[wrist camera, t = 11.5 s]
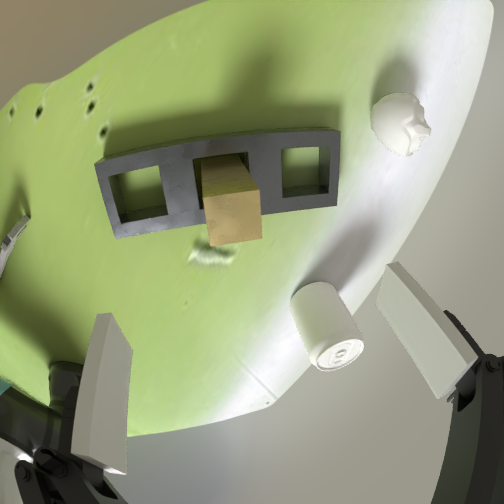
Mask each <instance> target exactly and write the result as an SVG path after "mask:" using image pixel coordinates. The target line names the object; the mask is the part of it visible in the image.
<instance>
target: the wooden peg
mask: <svg viewBox="0 0 504 504" xmlns="http://www.w3.org/2000/svg"><path fill="white" fill-rule="evenodd" d="M201 175H202V194H203V203H204V209H205V216H206V222H207V228H208V234H209V240H210V246H217V245H223V244H230V243H236V242H243V241H249V240H256V239H262V224H261V206H260V190H259V188H258V187H257V185H256V183H255V182H254V180H253V179H252V177H251V175H250V174H249V172H248V171H247V169H246V167H245V166H244V164H243V163H242V161H241V160H240V158H239V157H238V155H237V154H233V155H225V156H217V157H210V158H203V159H201Z"/></svg>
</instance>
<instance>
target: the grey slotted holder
mask: <svg viewBox="0 0 504 504" xmlns="http://www.w3.org/2000/svg"><path fill="white" fill-rule="evenodd" d="M300 147H319V185H310V186H300V187H290V188H282V164H281V149H284V148H300ZM240 152H244V160H245V167H246V169H247V171H248V172H249V174H250V175H251V177H252V179H253V180H254V182H255V183H256V185H257V187H258V188H259V190H260V206H261V215H266V214H273V213H281V212H289V211H296V210H304V209H313V208H321V207H330V206H337V197H338V182H339V162H340V131H338V130H335V129H332V128H329V127H312V128H283V129H266V130H253V131H243V132H233V133H224V134H216V135H209V136H202V137H195V138H189V139H183V140H177V141H172V142H166V143H161V144H156V145H151V146H147V147H142V148H138V149H133V150H129V151H125V152H121V153H117V154H113V155H109V156H106V157H103V158H101V159H100V160H99V161H97V162H96V163H95V164H94V165H95V169H96V174H97V178H98V182H99V185H100V189H101V193H102V196H103V200H104V203H105V207H106V210H107V214H108V217H109V220H110V223H111V226H112V229H113V232H114V235H115V238H116V239H119V238H124V237H129V236H135V235H140V234H146V233H151V232H157V231H163V230H168V229H174V228H180V227H186V226H192V225H198V224H205V223H207V222H206V216H205V209H204V203H203V199H199V194H198V187H197V180H196V174H195V167H194V160H193V159H196V158H202V157H209V156H216V155H224V154H231V153H240ZM156 165H159V170H160V176H161V181H162V186H163V191H164V196H165V200H166V205H164V206H158V207H153V208H148V209H143V210H138V211H133V212H128V213H127V212H126V209H125V205H124V201H123V197H122V194H121V190H120V186H119V182H118V177H117V174H120V173H124V172H128V171H133V170H137V169H142V168H147V167H151V166H156Z"/></svg>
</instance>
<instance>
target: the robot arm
mask: <svg viewBox="0 0 504 504" xmlns="http://www.w3.org/2000/svg"><path fill="white" fill-rule="evenodd" d="M375 305H376V306H377V307H378V309H379V310H380V312H381V313H382V314H383V316H384V317H385V319H386V320H387V322H388V323H389V324H390V326H391V327H392V329H393V330H394V332H395V333H396V334H397V336H398V338H399V339H400V341H401V342H402V344H403V345H404V347H405V348H406V350H407V351H408V353H409V354H410V356H411V357H412V359H413V361H414V362H415V364H416V365H417V367H418V368H419V370H420V372H421V373H422V375H423V376H424V378H425V380H426V381H427V383H428V385H429V386H430V388H431V390H432V391H433V393H434V395H435V396H436V398H437V399H439V398H441V397H442V396H444V395H445V394H447V393H448V392H449V391H450V390H451V389H452V388H453V387H454V386H456V388H457V389H456V390H455V391H454V392H453V393H452V394H451V395H450V396H449V398H448V399H447V402H449V401H450V400H451V399H452V398H453V397H454V399H453V400H452V402H451V403H453V411H452V419H451V425H450V431H449V437H448V443H447V447H446V452H445V456H444V461H443V465H442V469H441V472H440V476H439V480H438V483H437V486H436V490H435V493H434V496H433V499H432V502H431V504H504V356H502V357H496V356H495V355H493V354H487V355H486V354H484V352H483V351H482V350H481V348H479V346H478V344H477V343H476V342H475V341H474V339H473V338H472V337H471V335H470V334H469V333H468V332H467V331H466V329H465V328H464V327H463V325H461V323H460V322H459V320H458V319H457V318H456V317H455V316H454V315H453V314H451V313H450V312H449V311H447V310H445V311H442V310H441V309H440V307H439V306H438V305H437V304H436V303H435V302H434V300H433V299H432V298H431V297H430V296H429V295H428V294H427V292H426V291H425V290H424V289H423V288H422V287H421V286H420V285H419V284H418V282H417V281H416V280H415V279H414V278H413V277H412V276H411V275H410V274H409V273H408V272H407V271H406V269H404V267H403V266H402V265H401V264H400V263H399V262H394V263H390V264H386V268H385V272H384V277H383V280H382V283H381V287H380V290H379V294H378V297H377V301H376V304H375ZM132 354H133V350H132V348H131V346H130V345H129V343H128V341H127V340H126V338H125V336H124V334H123V333H122V331H121V329H120V327H119V326H118V324H117V322H116V320H115V318H114V316H113V314H112V313H105V314H97V317H96V321H95V324H94V328H93V332H92V335H91V339H90V343H89V347H88V351H87V355H86V359H85V364H84V366H81V365H78V364H74V363H70V362H56V363H54V364H53V365H52V366H51V368H50V371H49V390H50V404H49V407H48V406H46V405H45V404H43V403H41V402H40V401H38V400H36V399H35V398H33V397H31V396H30V395H28V394H27V393H25V392H23V391H22V390H20V389H19V388H17V387H16V386H14V385H13V383H10V382H8V381H6V380H5V379H3V378H2V377H0V504H128V503H127V502H126V501H125V500H124V499H123V498H122V496H121V495H120V494H119V493H118V492H117V491H116V489H115V488H114V487H113V485H112V484H111V483H110V482H109V480H108V479H107V478H106V477H105V476H104V475H103V470H105V471H107V472H110V473H116V474H127V458H126V457H127V452H126V451H127V450H126V449H127V448H126V446H127V440H126V438H127V412H128V396H129V383H130V372H131V363H132ZM33 455H34V456H33ZM31 462H33V464H31Z"/></svg>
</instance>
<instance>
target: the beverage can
mask: <svg viewBox="0 0 504 504" xmlns="http://www.w3.org/2000/svg"><path fill="white" fill-rule="evenodd" d="M289 308H290V312H291V315H292V317H293V320H294V322H295V324H296V327H297V329H298V332H299V334H300V337H301V339H302V342H303V344H304V347H305V349H306V352H307V354H308V357H309V359H310V361H311V363H312V364H314V365H315V366H316V367H317V368H318V369H319V370H322V371H332V370H336V369H339V368H342V367H344V366H346V365H348V364H349V363H351V362H352V361H354V360H355V359H356V358H357V357H358V356H359V355H360V353H361V352H362V350H363V348H364V343H363V334H362V332H361V331H360V329H359V327H358V325H357V324H356V322H355V320H354V319H353V317H352V315H351V314H350V312H349V310H348V309H347V307H346V305H345V304H344V302H343V301H342V299H341V297H340V296H339V294H338V292H337V291H336V289H335V288H334V286H333V285H331V284H330V283H327V282H314V283H311V284H308V285H306V286H304V287H302V288H301V289H300V290H298V291H297V292H296V293H295V295H294V296H293V297H292V299H291V301H290V306H289Z"/></svg>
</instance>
